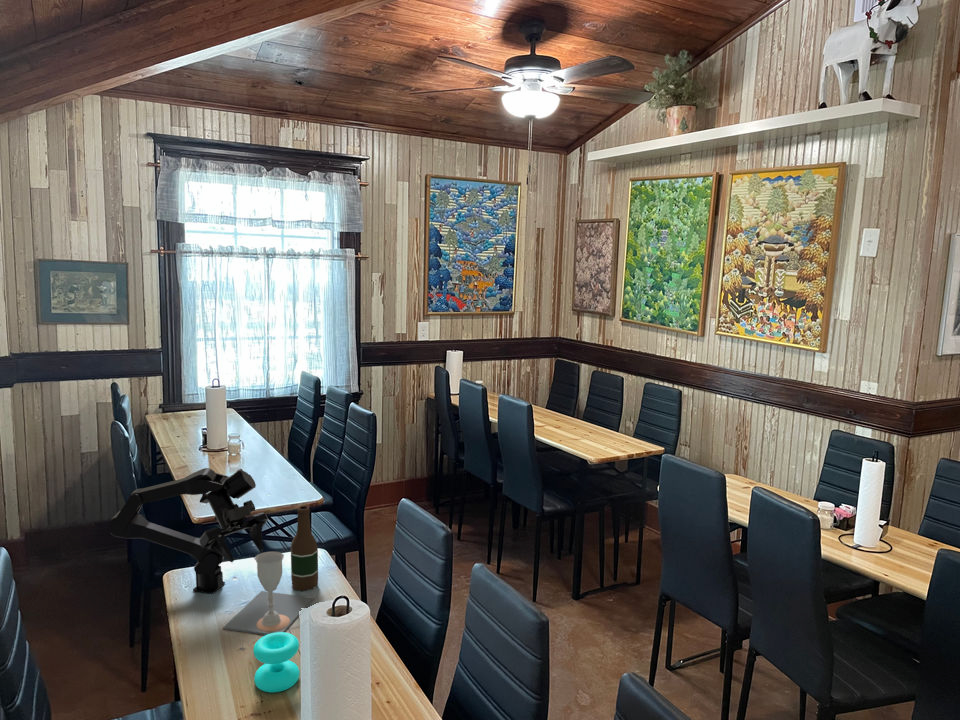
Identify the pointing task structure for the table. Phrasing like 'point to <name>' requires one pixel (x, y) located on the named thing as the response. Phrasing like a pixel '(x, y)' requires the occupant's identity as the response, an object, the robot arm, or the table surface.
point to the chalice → (270, 581)
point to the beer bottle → (304, 554)
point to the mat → (257, 608)
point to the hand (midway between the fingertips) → (247, 556)
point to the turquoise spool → (276, 662)
